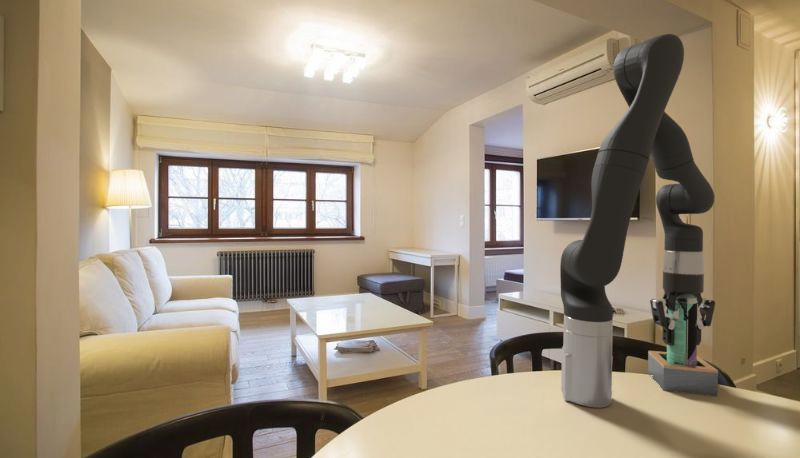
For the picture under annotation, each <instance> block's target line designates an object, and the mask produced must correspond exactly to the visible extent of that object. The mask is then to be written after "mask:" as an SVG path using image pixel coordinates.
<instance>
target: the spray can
mask: <svg viewBox="0 0 800 458" xmlns="http://www.w3.org/2000/svg"><path fill="white" fill-rule="evenodd" d="M696 299H697V297H695V296H694V295H692V294H681V295H679V296H678V297H676V303H675V311H676V309H677V308H678V307H679V306H680V305H681V307H680V308H679V315H678V316H679V320H678V321H676V324H675V326H674V329H673V330H674V345H673V346H669V345H667V344H666V352H667V362H668V363H669V364H679V365H690V366H696V363H697V356H698V351H697V348H698V345H697V300H696ZM675 311H671V310H668V314H670V315H674V313H675ZM669 321H670V318H669V319H668V323H669Z"/></svg>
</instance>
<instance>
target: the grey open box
mask: <svg viewBox="0 0 800 458" xmlns="http://www.w3.org/2000/svg"><path fill="white" fill-rule="evenodd" d="M647 354H648V355H647V356H648V357H647V360H648V361H647V374H648V375H649V376H650V375H653V376H652V377H653V378H654V379H653V378H652V377H651V378H652V379H653V381H654V382H655V381H656V382H657V383H658V384H659V385H660V386H659V385H658V384H657V383H656V382H655V383H656V384H657V385H658V386H659V388H661V390H662V391H665V390H668V391H667V392H673V391H677V392H676V393H682V392H683V394H684V393H685V394H693V395H700V396H701V395H702V396H709V397H718V392H719V391H718V390H719V389H718V388H719V387H718V386H719V385H718V384H719V382H718V381H719V369H717V368H715V366H713V365H711V364H710V363H708V362H707V361H706V360H705V359H703V358H701V356H700V355H697V363H696V366H690V365H679V364H669V363H668V362H667V351H658V350H648V351H647Z"/></svg>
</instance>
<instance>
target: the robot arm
mask: <svg viewBox="0 0 800 458" xmlns="http://www.w3.org/2000/svg"><path fill="white" fill-rule="evenodd" d="M684 60H685V48H684V44H683V41H682V39H681V38H680V37H679V36H677V35H675V34H673V33H666V34H660V35H657V36H654V37H652V38H649V39H646V40H644V41H641V42H638V43H635V44H633V45H631V46H628V47H624V48H623V49H622V50H621V51H620V52H618V53H617V56H616V57H615V59H614V61H613V62H614V63H613V76H614V80H615V82H616V85H617V87H618V88H619V91H620V93H621V95H622V96H623V98H624V100H625V102H626V104H627V106H628V109H627V111H626V112H625V113H624V114H623V116H621V118H620V119H619V120H618V121H617V122H616V124H615V125H614V126H613V127H612V129H611V130H610V131H609V132H608V133H607V135H606V136H605V137H604V139H603V140H602V142H601V145H600V147H599V149H598V152H597V156H596V159H595V163H594V166H593V169H592V173H591V180H590V181H591V182H590V184H591V187H590V188H591V204H592V205H591V214H590V218H589V222H588V225H587V227H586V231H585V233H584V236H583V239H579V240H578V239H577V240H574V241H572V242H570V243H569V244H568V245H566V246H565V248H564V249H563V252H562V254H561V257H560V269H559V270H560V273H559V275H560V298H561V302H562V304H563V342H562V344H563V346H561V377H560V378H561V382H560V383H561V385H560V388H561V392H562V395H563V398H564V401H565V402H567V401H568V402H571V403H574V404H577V405H580V406H583V407H589V408H599V409H600V408H607V407H608V406H610V405H611V404H612V395H613V390H612V389H613V388H612V387H613V386H612V385H613V327H614V325H613V320H614V319H613V317H614V316H613V315H614V308H613V305H612V304H611V302H610V300H609V298H608V297H607V293H606V286H607V285H609V284H611V283H612V282H613V281H615V279H616V277H617V276H618V275H619V273H620V270H621V266H622V263H623V258H624V257H623V256H624V251H625V246H626V240H627V235H628V229H629V225H630V221H631V218H632V215H633V212H634V209H635V206H636V202H637V198H638V195H639V192H640V188H641V187H642V182H643V179H644V177H645V174H646V171H647V167H648V165H649V162H650V161H649V160H650V157H651V159H652V163H653V166H654V170H655V172H656V174H657V176H658V178H660V179H662V180H666V181H673V182H677V183H670V184H664V185H663V186H662V187H660V188H659V190H658V191H657V193H656V195H655V196H656V197H655V205H656V208H657V211H658V214H659V218H660V221H661V224H662V228H663V233H664V247H663V248H664V253H663V257H662V289H663V292H664V293H663V296H662V298H660V299H659V298H658V299H656V298H655V299H654V298H651V299H650V300H649V304H650V309H651V315H652V319H653V324H654V325H657V326H660V327H661V328H662V336H661V337H662V338H661V339H662V342H663V343H664V344H665V345H666V346H667V345H669V346H673V345H674V330H673V329H674V326H675V324H676V321H678V320H679V316H678V315H679V308H680V307H681V305H680V306H679V307H678V308H677V309H676V311H675V303H676V297H678V296H679V295H681V294H692V295H694V296H695V297H697V299H696V300H697V346H700V344H701V342H702V330H703V329H704V327H710V326H711V325H712V321H713V316H714V313H715V312H714V311H715V307H716V301H715V300H711V299H709V298H705V297H704V298H703V297H702V293H704V289H705V288H704V286H705V285H704V284H705V282H704V281H705V280H704V278H705V259H704V252H703V251H704V248H703V247H704V232H703V229H702V227H701V226H698V225H695V224H690V223H685V222H684V221H683V219H682V218H681V217H680V215H698V214H700V215H701V214H704V213H708V212H709V211H710V210H711V209H712V208H713V206H714V204H715V198H716V197H715V193H714V190H713V188H712V186H711V184H710V182H709V181H708V180H707V178H706V177H705V175H703V173H702V171H701V169H699V167H698V165H697V164H696V162H695V159H694V157H693V156H694V155H693V153H692V149H691V145H690V142H689V139H688V136H687V135H686V132H685V131H684V130H683V128H682V126H680V125H679V124H678V122H676V121H675V120H674V119H673V118H672V117H671V116H670V115H669V114H668V113H667V112H666V111H665V110H666V108H667V105H668V102H669V101H670V98H671V97H672V94H673V91H674V89H675V86H676V85H677V82H678V80H679V77H680V74H681V72H682V69H683V64H684ZM668 310H671V311H675V313H674V315H670V314H668ZM669 318H670V321H669V323H668V319H669Z"/></svg>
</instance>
